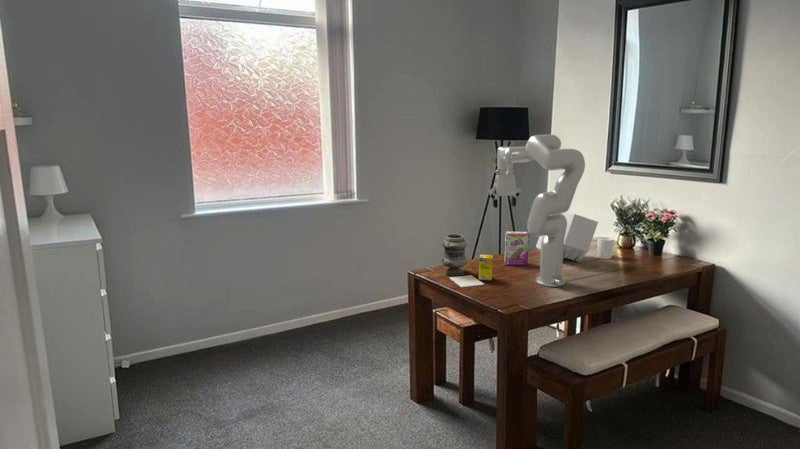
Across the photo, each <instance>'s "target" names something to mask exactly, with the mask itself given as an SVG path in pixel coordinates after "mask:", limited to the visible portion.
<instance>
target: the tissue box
mask: <svg viewBox="0 0 800 449" xmlns="http://www.w3.org/2000/svg"><path fill="white" fill-rule="evenodd" d="M561 214H563V215H564V216H565V217H566V220H567V228H566V232H565V237H564V246H563V260H564V259H568V260H571V261H574V262H577V263H578V262H580V261H581V260H582V258H584V257H585V256H586V254H587V253H588V252H589V249H590V246H591V243H592V240H593V239H594V236H595V232H596V230H597V227H598V223H599V221H597V220H594V219H590V218H588V217H585V216H582V215H580V214H576V213H573V212H568V211H566V212H564V213H561ZM543 237H544V236H538V239H537V242H536V246H535V248H537V250H539V251H541V242H542V239H543Z"/></svg>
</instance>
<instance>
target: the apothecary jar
mask: <svg viewBox="0 0 800 449" xmlns="http://www.w3.org/2000/svg"><path fill="white" fill-rule="evenodd" d="M441 245H442V247H443V248H444V256H443V257H442V259H441V263H442V265H444V266H445V267H447V268H446V269H445V270H444V271H443V272H444V274H445V275H448V274H449V275H450V276H460V275H461V276H463V275H464V274H465V273H466V272H465V270H464V269H461V268H464V266H466V265H467V263H468V258H467V257H466V256H465V254H466V252H465V250H466V248H467V246H468V242H467V241H466V239H465V236H464V235H463V234H462V233H461V234H460V233H450V234H447V235H446V236H445V239H444V240H443V241H442V244H441Z"/></svg>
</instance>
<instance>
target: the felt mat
mask: <svg viewBox="0 0 800 449" xmlns="http://www.w3.org/2000/svg"><path fill="white" fill-rule="evenodd" d="M449 278H450V279H449V280H451V281H452V282H453V281H454V282H453V283H455V284H456V285H457V286H459V287H460V288H468V287H477V286H485V283H483V281H479V278H478V279H477V278H476V277H474V276H473V275H472V274H469V275H461V276H460V275H458V276H451V277H450V276H449Z"/></svg>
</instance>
